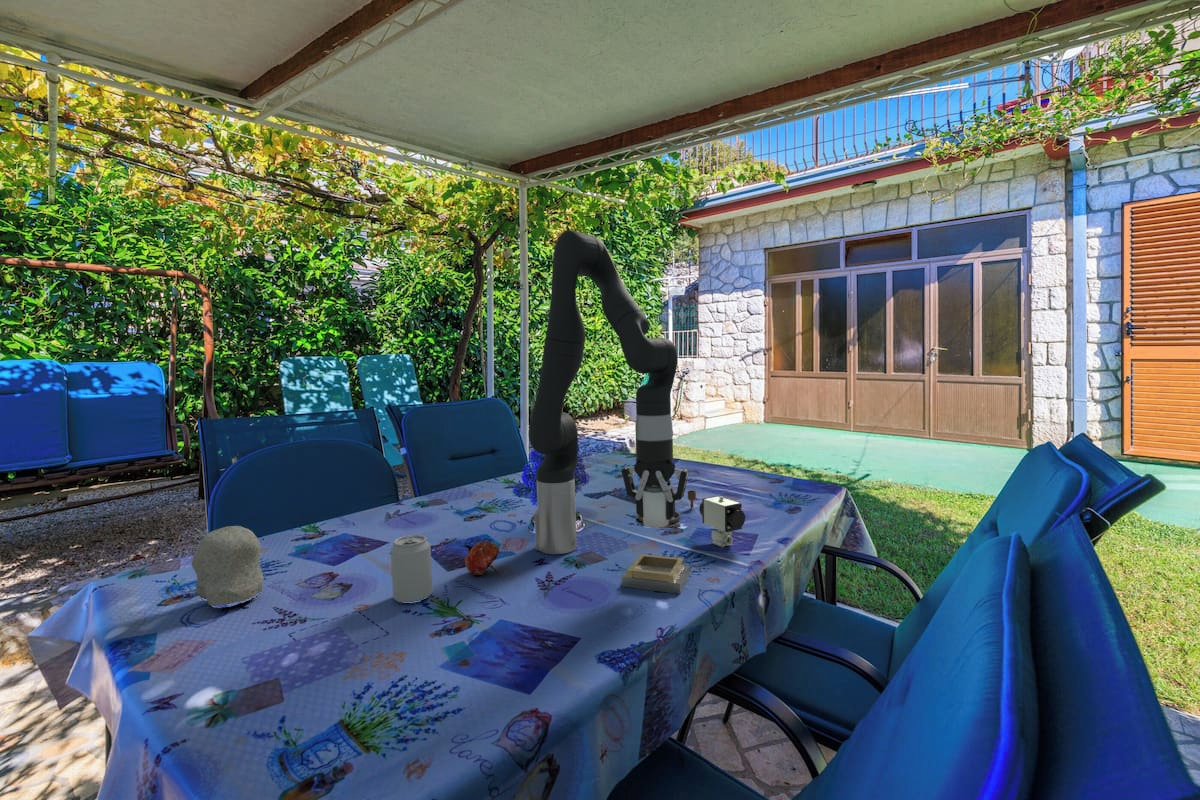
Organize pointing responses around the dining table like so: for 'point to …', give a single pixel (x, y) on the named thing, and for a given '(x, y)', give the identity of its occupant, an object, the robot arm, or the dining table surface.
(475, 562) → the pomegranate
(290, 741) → the dining table surface
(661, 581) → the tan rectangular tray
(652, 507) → the white plastic jar
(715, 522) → the pneumatic valve
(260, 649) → the dining table surface
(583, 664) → the dining table surface
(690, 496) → the place setting
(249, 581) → the stone
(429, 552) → the can
